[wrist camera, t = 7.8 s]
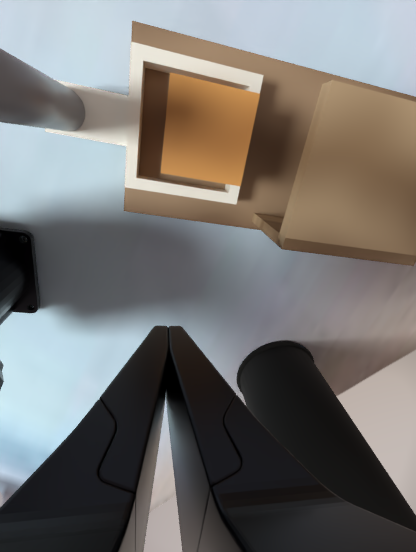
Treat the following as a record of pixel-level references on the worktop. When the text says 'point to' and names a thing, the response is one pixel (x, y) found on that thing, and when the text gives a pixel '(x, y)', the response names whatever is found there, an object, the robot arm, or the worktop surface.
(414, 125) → the tan piece
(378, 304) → the worktop surface
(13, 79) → the sled
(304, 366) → the aerosol can
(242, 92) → the block
